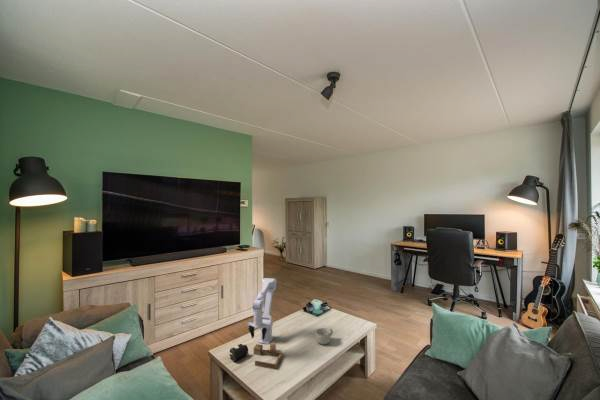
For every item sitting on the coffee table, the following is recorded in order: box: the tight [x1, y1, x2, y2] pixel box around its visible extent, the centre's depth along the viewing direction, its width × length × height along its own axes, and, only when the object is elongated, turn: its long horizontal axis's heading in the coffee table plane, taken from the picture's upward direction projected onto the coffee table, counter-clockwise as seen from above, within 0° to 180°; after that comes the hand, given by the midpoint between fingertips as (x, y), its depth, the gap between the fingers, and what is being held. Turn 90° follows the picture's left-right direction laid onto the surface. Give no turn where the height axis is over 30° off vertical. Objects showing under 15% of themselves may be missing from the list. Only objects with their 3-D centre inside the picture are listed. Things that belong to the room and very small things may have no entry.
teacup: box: [315, 327, 334, 346], centre depth 184 cm, size 14×11×8 cm
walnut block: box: [253, 343, 264, 356], centre depth 171 cm, size 4×4×4 cm
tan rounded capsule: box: [269, 342, 277, 352], centre depth 172 cm, size 4×4×5 cm
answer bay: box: [254, 349, 283, 370], centre depth 162 cm, size 13×14×2 cm
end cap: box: [229, 343, 249, 362], centre depth 165 cm, size 10×7×7 cm
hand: (258, 338), depth 171 cm, fingers open, 7 cm apart
